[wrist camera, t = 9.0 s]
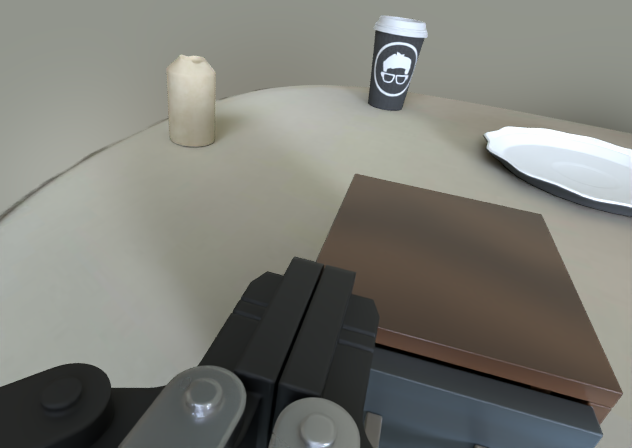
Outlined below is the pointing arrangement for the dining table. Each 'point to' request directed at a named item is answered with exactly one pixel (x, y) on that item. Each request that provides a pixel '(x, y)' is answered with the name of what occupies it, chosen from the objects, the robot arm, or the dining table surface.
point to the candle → (191, 101)
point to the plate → (567, 166)
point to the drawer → (465, 408)
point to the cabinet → (470, 288)
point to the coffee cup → (394, 60)
